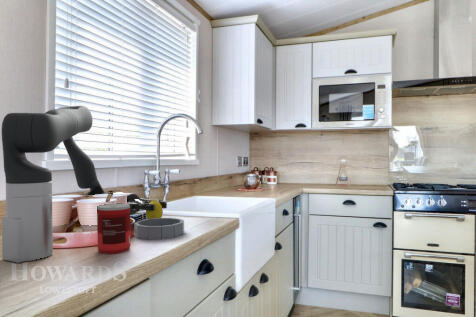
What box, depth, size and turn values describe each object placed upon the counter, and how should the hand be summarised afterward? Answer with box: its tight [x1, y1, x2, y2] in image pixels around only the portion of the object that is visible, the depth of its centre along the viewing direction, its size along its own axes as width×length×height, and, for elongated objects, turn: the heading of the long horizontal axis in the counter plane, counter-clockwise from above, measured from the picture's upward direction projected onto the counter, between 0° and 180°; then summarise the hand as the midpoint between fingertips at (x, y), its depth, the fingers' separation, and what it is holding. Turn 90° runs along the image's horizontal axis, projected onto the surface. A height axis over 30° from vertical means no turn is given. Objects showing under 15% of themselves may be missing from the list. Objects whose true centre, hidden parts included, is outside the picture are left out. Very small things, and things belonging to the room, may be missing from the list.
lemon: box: [145, 200, 164, 219], centre depth 119 cm, size 6×6×8 cm
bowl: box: [133, 217, 185, 240], centre depth 105 cm, size 14×14×4 cm
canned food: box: [96, 203, 131, 255], centre depth 87 cm, size 8×8×11 cm
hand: (160, 206), depth 117 cm, fingers closed on lemon, 5 cm apart
